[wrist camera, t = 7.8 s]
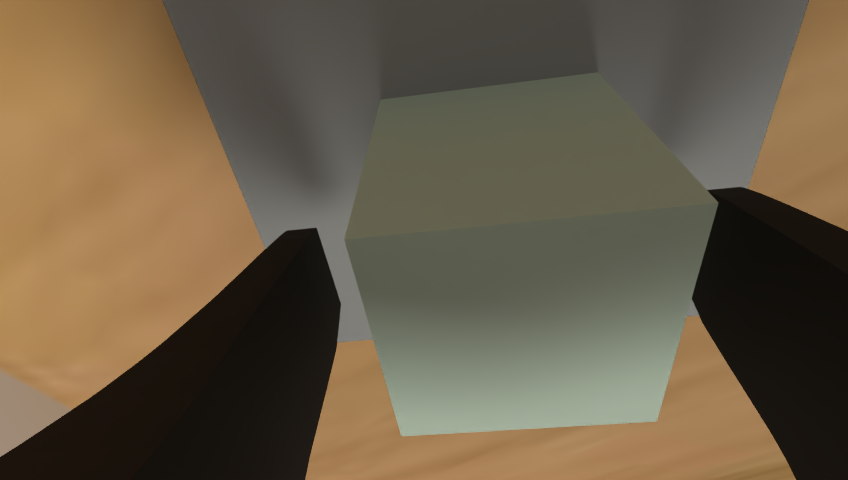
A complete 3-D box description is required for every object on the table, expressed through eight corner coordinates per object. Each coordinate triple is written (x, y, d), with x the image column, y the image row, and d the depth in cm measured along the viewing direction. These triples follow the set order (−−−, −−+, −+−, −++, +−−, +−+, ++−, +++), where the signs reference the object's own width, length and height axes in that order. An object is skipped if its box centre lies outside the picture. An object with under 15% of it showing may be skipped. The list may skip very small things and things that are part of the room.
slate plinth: (774, -114, 9) (846, -116, 8) (677, 270, 15) (706, 314, 14) (199, -28, 10) (156, -14, 9) (317, 299, 16) (304, 344, 15)
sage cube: (597, 72, 9) (719, 202, 5) (582, 246, 12) (656, 421, 8) (380, 99, 10) (344, 239, 6) (411, 262, 13) (401, 436, 9)
